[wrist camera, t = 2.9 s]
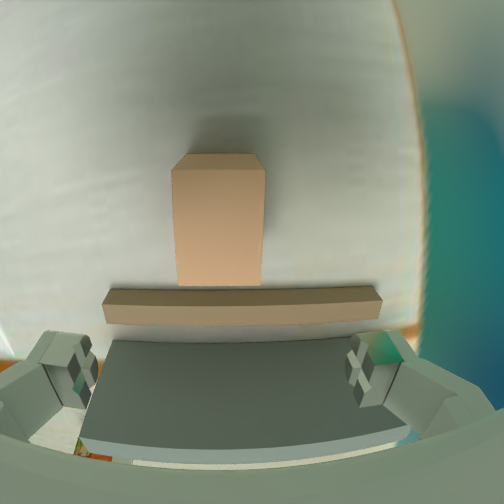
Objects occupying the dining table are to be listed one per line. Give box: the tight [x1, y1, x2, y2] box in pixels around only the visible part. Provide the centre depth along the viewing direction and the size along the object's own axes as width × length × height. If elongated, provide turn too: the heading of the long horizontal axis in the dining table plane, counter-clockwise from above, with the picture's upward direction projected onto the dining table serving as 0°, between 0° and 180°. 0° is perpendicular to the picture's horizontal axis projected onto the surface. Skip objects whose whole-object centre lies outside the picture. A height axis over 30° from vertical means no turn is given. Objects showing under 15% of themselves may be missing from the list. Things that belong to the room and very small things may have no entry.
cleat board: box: [79, 286, 412, 464], centre depth 24 cm, size 8×26×12 cm, turn 88°
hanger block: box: [172, 153, 266, 286], centre depth 21 cm, size 7×5×7 cm
